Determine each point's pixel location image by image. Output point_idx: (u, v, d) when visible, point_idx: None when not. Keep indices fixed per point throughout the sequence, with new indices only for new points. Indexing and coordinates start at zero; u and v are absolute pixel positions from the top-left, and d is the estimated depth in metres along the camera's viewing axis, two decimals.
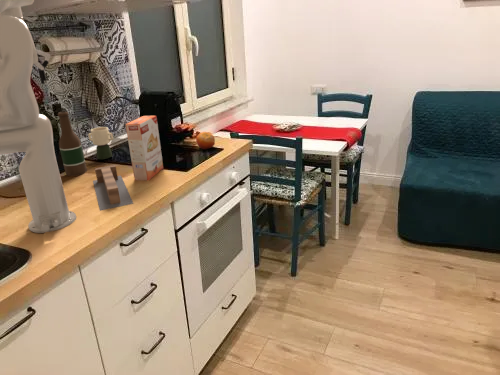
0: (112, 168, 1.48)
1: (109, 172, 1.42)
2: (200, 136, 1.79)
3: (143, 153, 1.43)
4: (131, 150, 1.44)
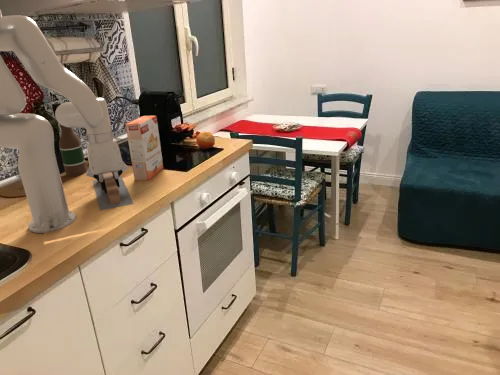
0: None
1: (109, 172, 1.42)
2: (200, 136, 1.79)
3: (143, 153, 1.43)
4: (131, 150, 1.44)
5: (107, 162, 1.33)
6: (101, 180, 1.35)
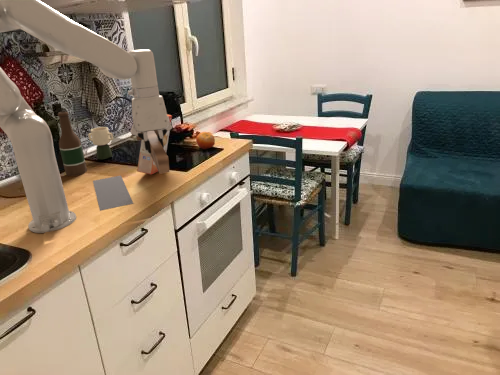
0: None
1: (152, 132, 1.33)
2: (200, 136, 1.79)
3: None
4: (143, 140, 1.44)
5: (153, 119, 1.25)
6: (146, 139, 1.28)
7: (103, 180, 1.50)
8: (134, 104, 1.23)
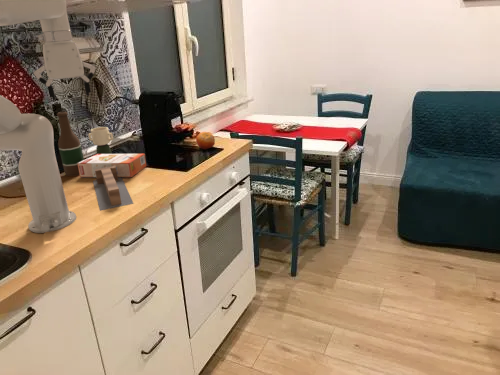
0: (112, 169, 1.47)
1: (109, 173, 1.41)
2: (200, 136, 1.79)
3: (103, 164, 1.50)
4: None
5: (65, 66, 1.21)
6: (48, 84, 1.22)
7: None
8: (44, 49, 1.18)
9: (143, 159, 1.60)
